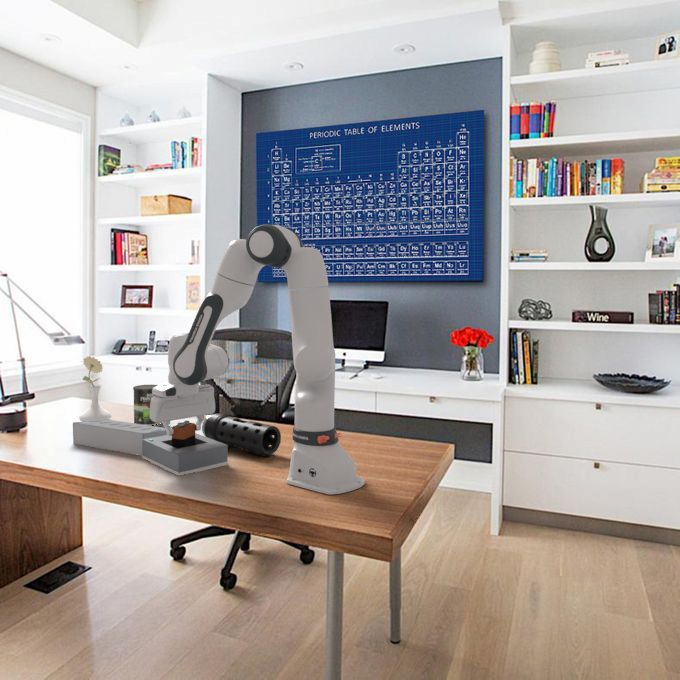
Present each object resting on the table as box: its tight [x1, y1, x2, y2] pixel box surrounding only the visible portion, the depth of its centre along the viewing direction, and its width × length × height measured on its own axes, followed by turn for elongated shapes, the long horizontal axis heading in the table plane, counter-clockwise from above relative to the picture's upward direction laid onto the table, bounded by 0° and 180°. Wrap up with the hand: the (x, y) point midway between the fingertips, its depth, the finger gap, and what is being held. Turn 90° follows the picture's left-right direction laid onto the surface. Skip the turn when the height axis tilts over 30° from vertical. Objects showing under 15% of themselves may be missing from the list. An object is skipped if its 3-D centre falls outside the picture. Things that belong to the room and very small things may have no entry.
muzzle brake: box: [201, 412, 282, 458], centre depth 190 cm, size 10×28×10 cm, turn 53°
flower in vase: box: [78, 356, 112, 422], centre depth 224 cm, size 13×11×25 cm
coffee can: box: [132, 384, 163, 426], centre depth 223 cm, size 10×10×14 cm
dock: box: [141, 432, 229, 476], centre depth 176 cm, size 22×16×6 cm
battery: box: [171, 420, 196, 449], centre depth 176 cm, size 4×7×10 cm, turn 164°
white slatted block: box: [72, 419, 167, 456], centre depth 194 cm, size 30×14×8 cm, turn 66°
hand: (183, 432), depth 176 cm, fingers closed on battery, 8 cm apart
